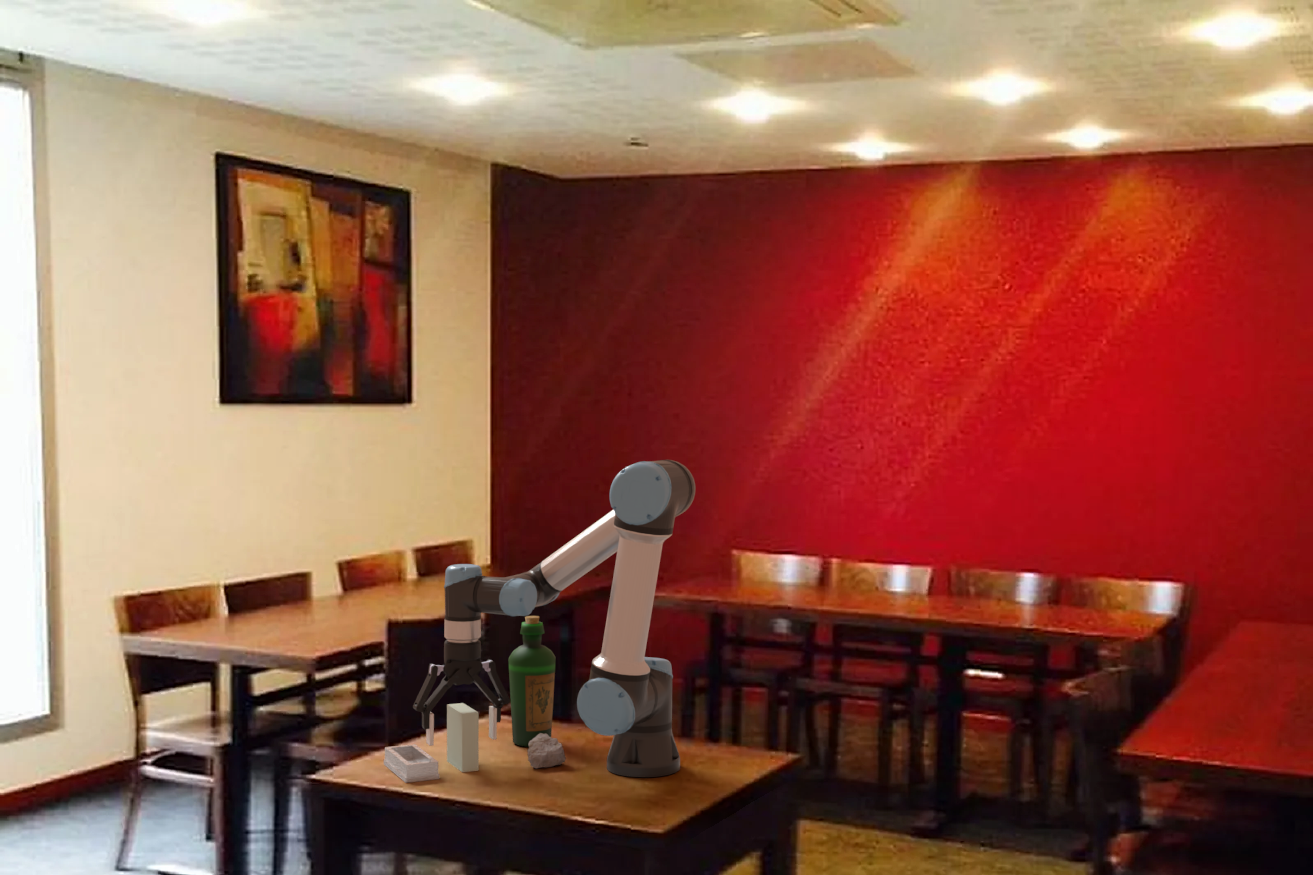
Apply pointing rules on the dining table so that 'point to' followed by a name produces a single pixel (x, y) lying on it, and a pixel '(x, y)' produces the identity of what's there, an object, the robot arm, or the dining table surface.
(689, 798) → the dining table surface
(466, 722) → the rectangular block
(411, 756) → the shallow open box
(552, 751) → the stone
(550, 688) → the bottle
